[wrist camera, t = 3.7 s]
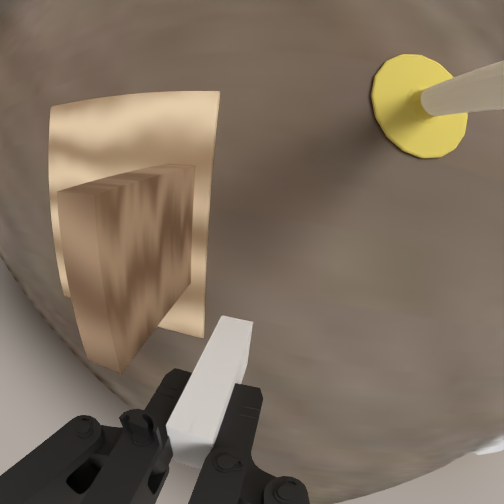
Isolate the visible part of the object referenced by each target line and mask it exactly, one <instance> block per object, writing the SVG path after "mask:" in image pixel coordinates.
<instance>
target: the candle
mask: <svg viewBox="0 0 504 504" xmlns="http://www.w3.org/2000/svg"><path fill="white" fill-rule="evenodd" d="M371 99H372V104H373V109H374V114H375V118H376V120H377V121H378V123H379V125H380V126H381V128H382V130H383V132H384V133H385V135H386V137H387V138H389V139H390V140H391V141H392V142H393V143H394V144H395V145H397V146H398V147H399V148H400V149H401V150H402V151H404V152H406V153H409V154H412V155H414V156H417V157H419V158H440V157H442V156H444V155H446V154H447V153H449V152H451V151H452V150H454V149H455V148H456V147H457V145H458V144H459V142H460V141H461V139H462V137H463V136H464V134H465V129H466V123H467V117H468V115H467V112H475V111H485V110H496V109H504V61H501V62H498V63H494V64H491V65H488V66H485V67H482V68H479V69H477V70H474V71H471V72H468V73H465V74H462V75H460V76H457V77H453V76H452V75H451V74H450V73H449V72H448V71H446V70H445V69H444V68H443V67H442V66H441V65H440V64H439V63H437V62H435V61H433V60H431V59H428V58H426V57H424V56H422V55H410V54H401V55H399V56H397V57H394V58H392V59H390V60H388V61H386V62H385V63H384V64H383V66H382V67H381V68H380V70H379V71H378V72H377V74H376V75H375V76H374V81H373V87H372V92H371Z"/></svg>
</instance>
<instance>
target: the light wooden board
mask: <svg viewBox="0 0 504 504" xmlns="http://www.w3.org/2000/svg"><path fill="white" fill-rule="evenodd" d="M219 99H220V92H219V91H173V92H153V93H139V94H128V95H119V96H111V97H103V98H96V99H89V100H83V101H78V102H72V103H67V104H62V105H57V106H53V107H51V113H50V128H49V192H50V207H51V218H52V228H53V236H54V244H55V250H56V257H57V263H58V269H59V274H60V279H61V284H62V289H63V294H64V296H67V297H69V298H71V295H70V291H69V286H68V281H67V275H66V270H65V264H64V257H63V251H62V243H61V235H60V226H59V216H58V203H57V191H60V190H63V189H67V188H70V187H73V186H77V185H80V184H84V183H87V182H91V181H94V180H98V179H102V178H106V177H110V176H113V175H118V174H122V173H126V172H130V171H134V170H139V169H143V168H148V167H152V166H157V165H162V164H179V165H192V166H196V170H195V184H194V201H193V222H192V249H191V284H190V285H189V286H188V287H187V289H186V290H185V291H184V293H183V294H182V295H181V296H180V298H179V299H178V300H177V301H176V303H175V304H174V305H173V307H172V308H171V309H170V310H169V312H168V313H167V314H166V316H165V317H164V318H163V319H162V321H161V322H160V323H159V325H158V327H162V328H165V329H169V330H173V331H176V332H180V333H184V334H188V335H192V336H196V337H200V338H203V337H204V319H205V286H206V262H207V243H208V225H209V210H210V196H211V182H212V170H213V159H214V148H215V137H216V127H217V117H218V108H219Z"/></svg>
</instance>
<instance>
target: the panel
mask: <svg viewBox="0 0 504 504" xmlns="http://www.w3.org/2000/svg"><path fill="white" fill-rule="evenodd" d="M195 170H196V166H192V165H179V164H162V165H157V166H152V167H148V168H143V169H139V170H134V171H130V172H126V173H122V174H118V175H113V176H110V177H106V178H102V179H98V180H94V181H91V182H87V183H84V184H80V185H77V186H73V187H70V188H67V189H63V190H60V191H57V203H58V216H59V226H60V235H61V243H62V251H63V257H64V264H65V270H66V275H67V281H68V286H69V291H70V295H71V300H72V304H73V309H74V313H75V317H76V321H77V325H78V329H79V332H80V336H81V339H82V343H83V346H84V349H85V353H86V356H87V359H88V360H89V361H91V362H93V363H96V364H98V365H100V366H103V367H105V368H107V369H110V370H112V371H115V372H117V373H120V374H122V372H123V371H124V369H125V368H126V367H127V365H128V364H129V363H130V361H131V360H132V359H133V357H134V356H135V355H136V353H137V352H138V351H139V350H140V348H141V347H142V346H143V344H144V343H145V342H146V340H147V339H148V338H149V336H150V335H151V334H152V332H153V331H154V330H155V329H156V327H157V326H158V325H159V323H160V322H161V321H162V319H163V318H164V317H165V316H166V314H167V313H168V312H169V310H170V309H171V308H172V307H173V305H174V304H175V303H176V301H177V300H178V299H179V298H180V296H181V295H182V294H183V293H184V291H185V290H186V289H187V287H188V286H189V285H190V284H191V249H192V222H193V201H194V184H195Z"/></svg>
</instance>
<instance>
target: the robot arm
mask: <svg viewBox="0 0 504 504" xmlns="http://www.w3.org/2000/svg"><path fill="white" fill-rule="evenodd" d="M252 326H253V322H251V321H246V320H241V319H236V318H231V317H226V316H221V318H220V320H219V322H218V324H217V326H216V328H215V330H214V332H213V334H212V336H211V338H210V340H209V342H208V343H207V345H206V347H205V349H204V351H203V353H202V355H201V357H200V359H199V361H198V363H197V365H196V367H195V369H194V371H193V373H190V372H187V371H183V370H180V369H176V368H175V369H173V370H172V371H170V372H169V373H168V374H166V375H165V377H164V378H163V380H162V382H161V383H160V386H159V387H158V388H157V390H156V393H154V395H153V397H152V398H151V400H150V402H149V403H148V405H147V407H146V408H145V410H140V409H133V410H129V411H127V412H124V413H123V414H122V415H121V416H120V417H119V419H120V421H121V423H122V426H123V428H118V427H110V426H103V425H100V423H99V422H98V421H97V420H96V419H95V418H93V417H91V416H86V415H81V416H77V417H75V418H74V419H72V420H71V421H69V422H68V423H67V424H65V425H64V426H63V427H62V428H60V429H59V430H58V431H57V432H56V433H54V434H53V435H52V436H51V437H49V438H48V439H47V440H45V441H44V442H43V443H42V444H41V445H39V446H38V447H37V448H35V449H34V450H33V451H32V452H30V453H29V454H28V455H26V456H25V457H24V458H23V459H21V460H20V461H19V462H18V463H16V464H15V465H14V466H12V467H11V468H10V469H8V470H7V471H6V472H5V473H3V474H2V475H1V476H0V504H155V503H156V500H157V498H158V496H159V494H160V491H161V489H162V487H163V485H164V481H165V480H166V478H167V476H168V473H169V463H170V461H171V458H172V456H173V460H174V461H176V462H179V463H182V464H185V465H188V466H191V467H195V468H198V469H201V471H200V474H199V477H198V479H197V482H196V485H195V487H194V490H193V492H192V495H191V498H190V501H189V503H188V504H310V503H309V497H308V492H307V489H306V487H305V485H304V484H303V483H302V482H301V481H300V480H298V479H296V478H293V477H287V476H282V477H275V476H273V475H270V474H268V473H266V472H264V471H262V470H261V469H259V468H258V467H257V466H256V465H255V464H254V462H253V460H252V457H251V449H252V445H253V441H254V437H255V432H256V428H257V424H258V419H259V415H260V411H261V406H262V402H263V396H262V393H261V390H260V388H257V387H252V386H247V385H242V384H241V382H242V379H243V376H244V372H245V369H246V366H247V361H248V354H249V347H250V340H251V333H252Z"/></svg>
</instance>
